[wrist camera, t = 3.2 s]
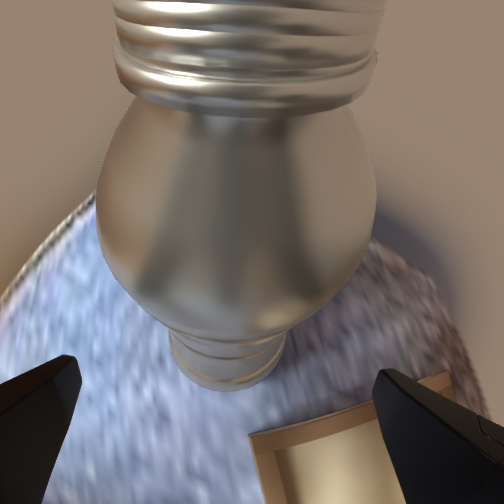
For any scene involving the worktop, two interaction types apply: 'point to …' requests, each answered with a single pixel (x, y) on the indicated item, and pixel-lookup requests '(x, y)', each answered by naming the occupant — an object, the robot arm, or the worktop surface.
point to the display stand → (332, 457)
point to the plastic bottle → (238, 171)
